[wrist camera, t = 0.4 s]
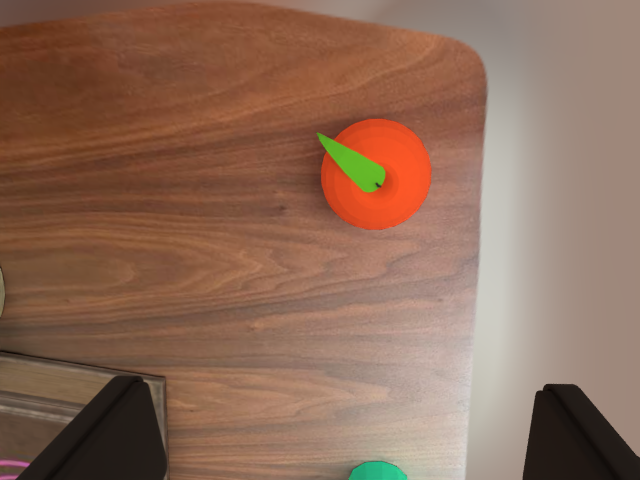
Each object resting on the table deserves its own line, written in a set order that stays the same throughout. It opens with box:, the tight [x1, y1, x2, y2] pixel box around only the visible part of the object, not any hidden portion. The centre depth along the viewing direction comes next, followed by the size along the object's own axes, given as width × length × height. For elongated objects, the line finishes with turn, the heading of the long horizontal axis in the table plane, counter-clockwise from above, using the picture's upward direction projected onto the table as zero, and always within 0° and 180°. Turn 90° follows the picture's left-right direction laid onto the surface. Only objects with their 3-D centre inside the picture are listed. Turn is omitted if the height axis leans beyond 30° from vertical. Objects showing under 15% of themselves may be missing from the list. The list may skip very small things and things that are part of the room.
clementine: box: [316, 119, 431, 230], centre depth 23 cm, size 8×7×7 cm
